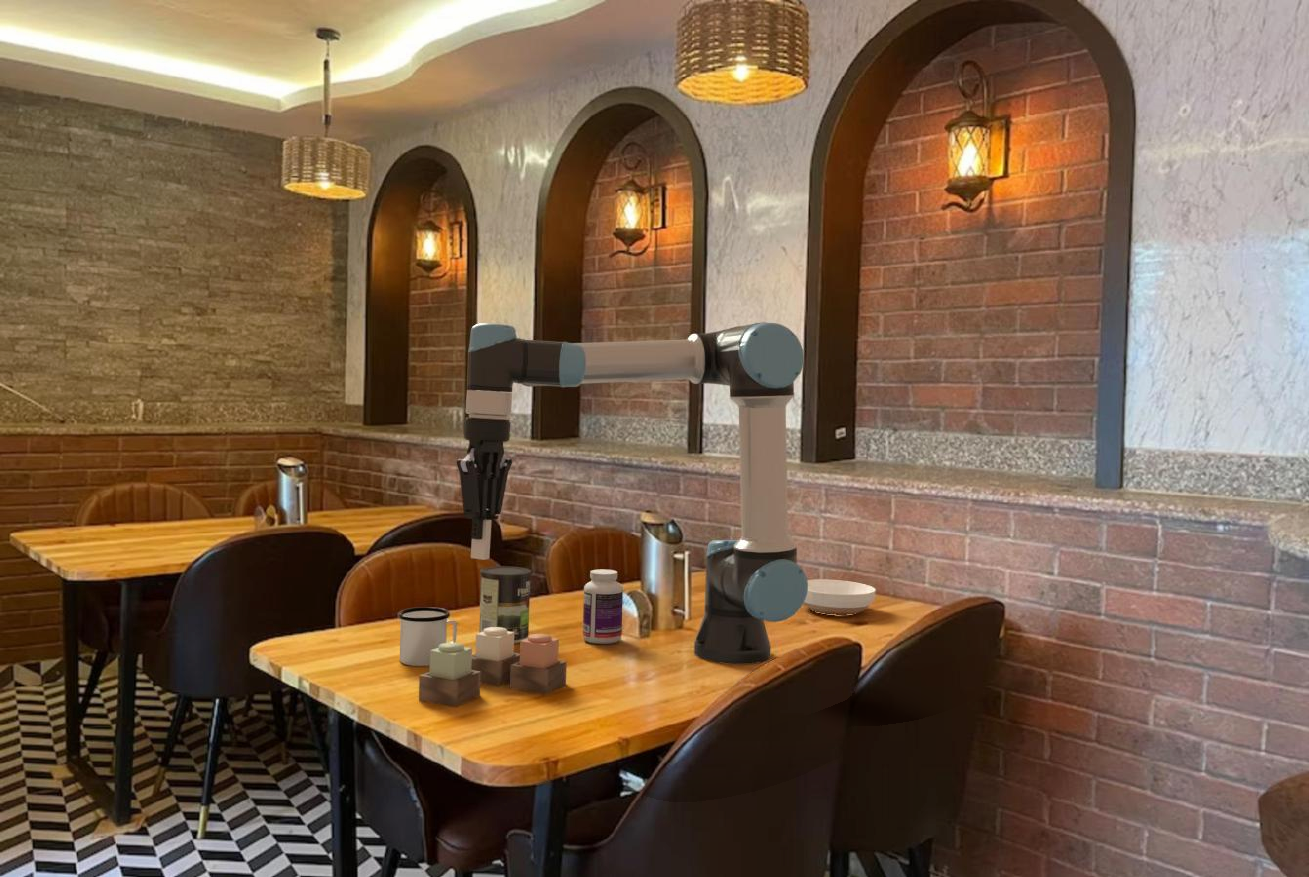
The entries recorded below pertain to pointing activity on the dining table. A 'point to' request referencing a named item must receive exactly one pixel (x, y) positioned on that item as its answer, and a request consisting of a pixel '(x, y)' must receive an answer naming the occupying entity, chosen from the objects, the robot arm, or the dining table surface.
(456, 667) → the cap sage
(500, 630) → the cap cream
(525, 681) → the collar brown
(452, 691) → the brown square tray
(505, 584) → the coffee can
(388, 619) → the dining table surface
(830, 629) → the dining table surface
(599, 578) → the pill bottle
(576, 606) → the dining table surface
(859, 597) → the bowl
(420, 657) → the mug
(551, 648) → the cap terracotta
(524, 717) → the dining table surface
